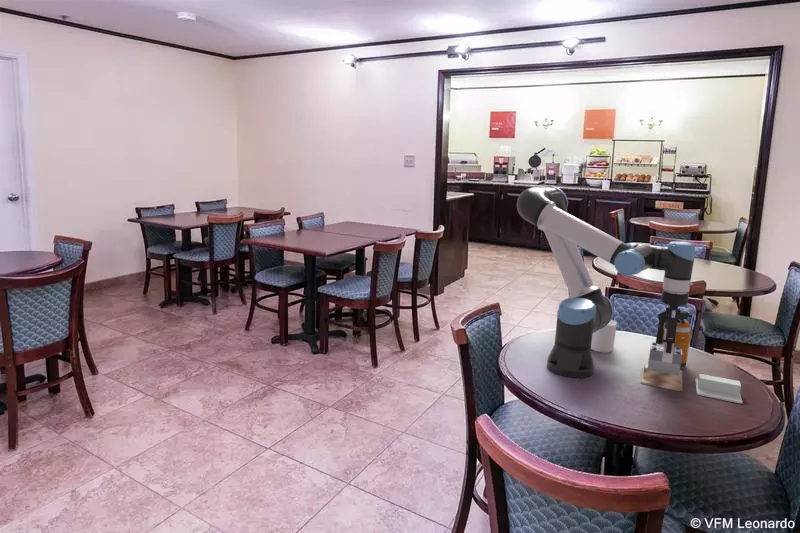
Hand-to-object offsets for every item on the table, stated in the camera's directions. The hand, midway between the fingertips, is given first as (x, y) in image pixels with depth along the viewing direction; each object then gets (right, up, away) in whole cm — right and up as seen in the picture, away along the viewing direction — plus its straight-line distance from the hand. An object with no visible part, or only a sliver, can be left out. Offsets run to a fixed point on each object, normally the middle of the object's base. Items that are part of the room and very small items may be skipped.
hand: (666, 355), depth 173 cm
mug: (-10, -2, +29) cm, 31 cm away
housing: (-1, -5, +1) cm, 5 cm away
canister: (+8, -6, +16) cm, 19 cm away
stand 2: (+14, -11, -4) cm, 18 cm away
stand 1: (-1, -9, +2) cm, 9 cm away
